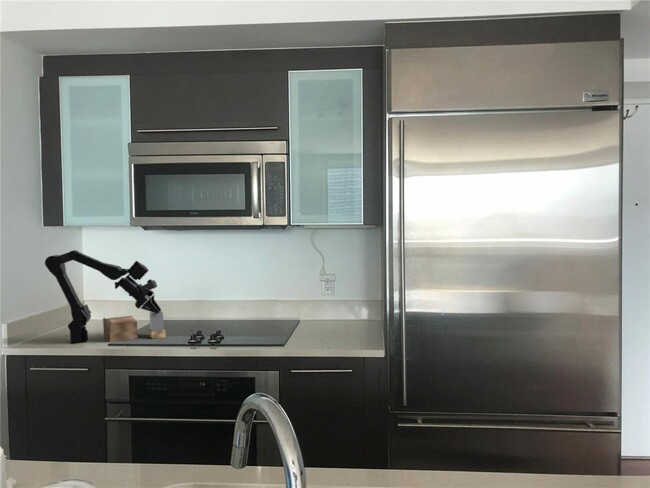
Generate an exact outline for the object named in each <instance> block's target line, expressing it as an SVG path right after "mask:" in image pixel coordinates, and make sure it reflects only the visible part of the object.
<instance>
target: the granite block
mask: <svg viewBox="0 0 650 488" xmlns="http://www.w3.org/2000/svg"><path fill="white" fill-rule="evenodd" d="M164 328H165V327H164V313H163V311H162V310H161V311H159V313H158V314H157V313H154V312H151V311H149V330H151V331H152V332H155V331H164V330H165V329H164Z"/></svg>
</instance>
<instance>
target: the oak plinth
mask: <svg viewBox="0 0 650 488" xmlns="http://www.w3.org/2000/svg"><path fill="white" fill-rule="evenodd" d="M166 332H167V331H166V330H165V329H164V331H155V332H152V331H151V330H150V329H148V337H149V336H150V337H151V338H156V339H162V338H167V337H166V336H167V334H166ZM150 337H149V338H150ZM151 338H150V339H151Z"/></svg>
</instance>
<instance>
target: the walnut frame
mask: <svg viewBox="0 0 650 488" xmlns="http://www.w3.org/2000/svg"><path fill="white" fill-rule="evenodd" d="M107 319H108V318H107V317H103V318H102V321H103V322H102V325H103V337H104V339H105V340H106V342H107V343H114V342H122V340H123V341H128V340H127V339H131V338H139V336H138V335H139V334H138V321H137V320H135V321H133V322H124V323H115V324H110V322H109V321H108V320H107ZM131 340H132V339H131Z"/></svg>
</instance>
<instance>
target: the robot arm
mask: <svg viewBox="0 0 650 488" xmlns="http://www.w3.org/2000/svg"><path fill="white" fill-rule="evenodd" d="M71 261H75V262H77V263H79V264H81V265H84V266H86V267H89V268H91V269H93V270H95V271H98V272H100V273H101V274H102V275H103V276H104V277H106V278H108V279H109V280H111V281H115V282H114V289H116V290H117V289H118V288H119V287H120V288H121V289H122V290H124V291H125V292H126V293H127V294H128V296H129V297H132V298H133V299H134V300H135V303H134V305H135V306H134V307H136V308H137V309H138V310H139V309H141V310H145V311H148V312H154V313H157V314H158V313H159V311H162V309H161V307H160V305H158V303H157V301H156V300H155V292H154V291H153V289H156V288H157V287H158V284H157V281H156V280H155V279H148V280H147V282H146V283H145V284H144V285H143V284H142V283H138V282H137V280H138V281H140V280H141V279H142V278H143V277H145V276H146V274H147V273H149V268H148V267H147V266H145V265H144V264H142V263H141V262H140V261H138V260H135V261H134V262H133V264H132V265H131V266H130V267H129V268H123V267H121V266H119V265H117V264H111V263H107V262H103V261H100V260H98V259H96V258H94V257H91V256H89V255H87V254H85V253H82V252H80V251H78V250H76V249H75V250H74V249H73V250H70V251H69V252H66V253H63V254H60V255H59V254H55V255H54V254H53V255H49V256H47V257H46V259H45V260H44V265H45V267H46V269H47V270H48V271H49V272H50V274H52V275H53V276H54V277H55V279H56V282H57V283H58V285H59V286H60V289H61V291H62V293H63V295H64V297H65V299H66V301H67V303H68V305H69V307H70V313H71V317H72V319H71V322H69V323H68V324H67V328H68V331H69V343H70V344H71V345H74V344H81V343H82V344H84V343H88V340H89V336H88V334H89V332H88V330H87V327H86V326H87V324H88V322H89V321H90V320H91V318H92V315H91V313H92V311H91V309H89V306H88V304H85V305H84V304H83V303H82V302H81V300H80V299H79V296H78V294H77V292H76V290H75V288H74V286H73V284H72V282H71V280H70V278H69V277H68V274H67V270H66V264H67V263H68V262H71ZM123 276H125V277H123ZM118 279H119V280H118ZM116 280H118V281H116Z"/></svg>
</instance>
